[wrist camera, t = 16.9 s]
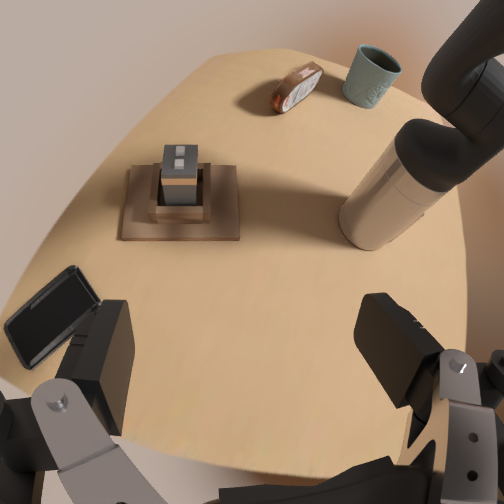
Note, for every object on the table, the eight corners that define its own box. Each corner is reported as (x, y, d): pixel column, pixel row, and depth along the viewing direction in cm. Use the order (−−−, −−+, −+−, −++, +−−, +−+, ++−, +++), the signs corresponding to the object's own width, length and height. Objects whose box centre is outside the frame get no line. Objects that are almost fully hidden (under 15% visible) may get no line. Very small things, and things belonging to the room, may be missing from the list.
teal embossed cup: (337, 78, 62) (355, 39, 51) (375, 90, 63) (396, 54, 53) (341, 103, 58) (362, 61, 47) (383, 117, 60) (407, 79, 49)
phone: (104, 307, 36) (27, 372, 30) (107, 309, 37) (30, 373, 31) (74, 261, 37) (1, 324, 31) (77, 264, 38) (5, 326, 32)
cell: (196, 185, 44) (198, 141, 35) (196, 213, 42) (196, 171, 33) (168, 185, 43) (164, 141, 34) (166, 213, 41) (160, 171, 33)
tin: (305, 85, 59) (316, 54, 51) (317, 92, 59) (330, 62, 51) (264, 114, 53) (273, 79, 45) (278, 122, 53) (289, 88, 45)
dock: (235, 169, 47) (238, 153, 43) (239, 240, 43) (243, 227, 39) (132, 169, 44) (128, 153, 41) (122, 240, 40) (116, 227, 36)
